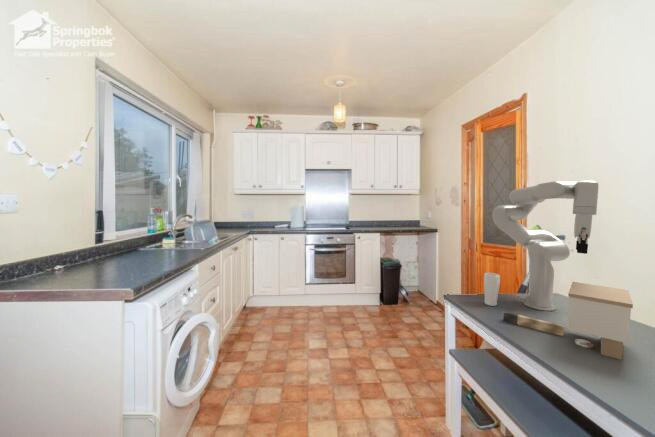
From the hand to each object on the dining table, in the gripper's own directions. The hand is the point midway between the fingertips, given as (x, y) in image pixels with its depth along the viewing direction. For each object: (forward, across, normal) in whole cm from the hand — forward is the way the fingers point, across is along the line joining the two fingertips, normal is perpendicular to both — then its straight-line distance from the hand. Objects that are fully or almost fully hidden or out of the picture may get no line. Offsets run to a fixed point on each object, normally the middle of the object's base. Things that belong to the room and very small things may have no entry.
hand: (581, 251), depth 126 cm
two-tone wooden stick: (+30, +20, -14) cm, 39 cm away
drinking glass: (+30, +1, -32) cm, 44 cm away
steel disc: (+30, +26, +1) cm, 40 cm away
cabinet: (+30, +23, +4) cm, 38 cm away
